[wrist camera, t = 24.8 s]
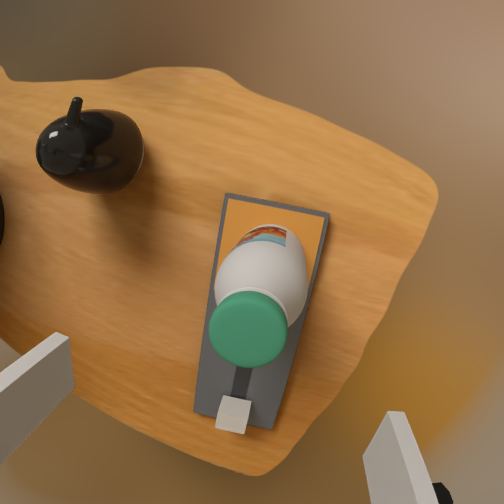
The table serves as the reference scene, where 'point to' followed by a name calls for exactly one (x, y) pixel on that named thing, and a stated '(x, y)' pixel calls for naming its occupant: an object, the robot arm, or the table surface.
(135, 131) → the pump dispenser
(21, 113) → the table surface
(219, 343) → the milk bottle
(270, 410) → the board
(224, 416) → the handle
